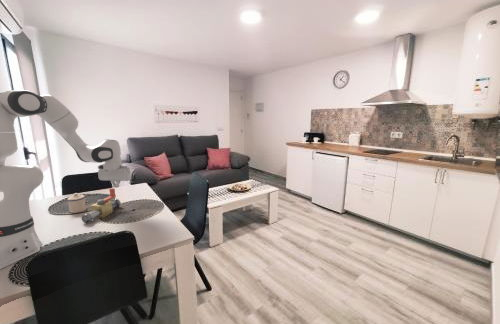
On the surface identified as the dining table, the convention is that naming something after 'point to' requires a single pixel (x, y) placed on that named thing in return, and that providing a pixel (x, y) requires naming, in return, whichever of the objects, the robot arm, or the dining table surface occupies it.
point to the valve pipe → (100, 210)
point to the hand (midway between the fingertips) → (116, 187)
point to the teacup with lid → (77, 203)
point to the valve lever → (112, 195)
